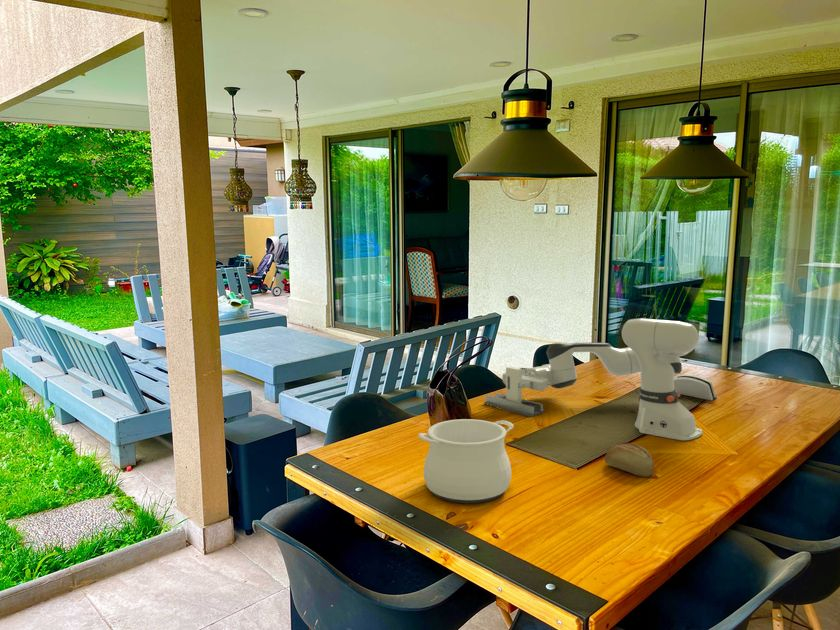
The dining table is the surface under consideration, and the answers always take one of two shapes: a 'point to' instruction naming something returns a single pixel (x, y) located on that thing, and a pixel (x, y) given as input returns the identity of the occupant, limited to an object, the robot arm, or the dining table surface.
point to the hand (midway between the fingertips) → (512, 384)
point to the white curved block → (694, 387)
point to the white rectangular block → (513, 384)
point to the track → (515, 405)
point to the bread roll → (630, 459)
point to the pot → (467, 460)
